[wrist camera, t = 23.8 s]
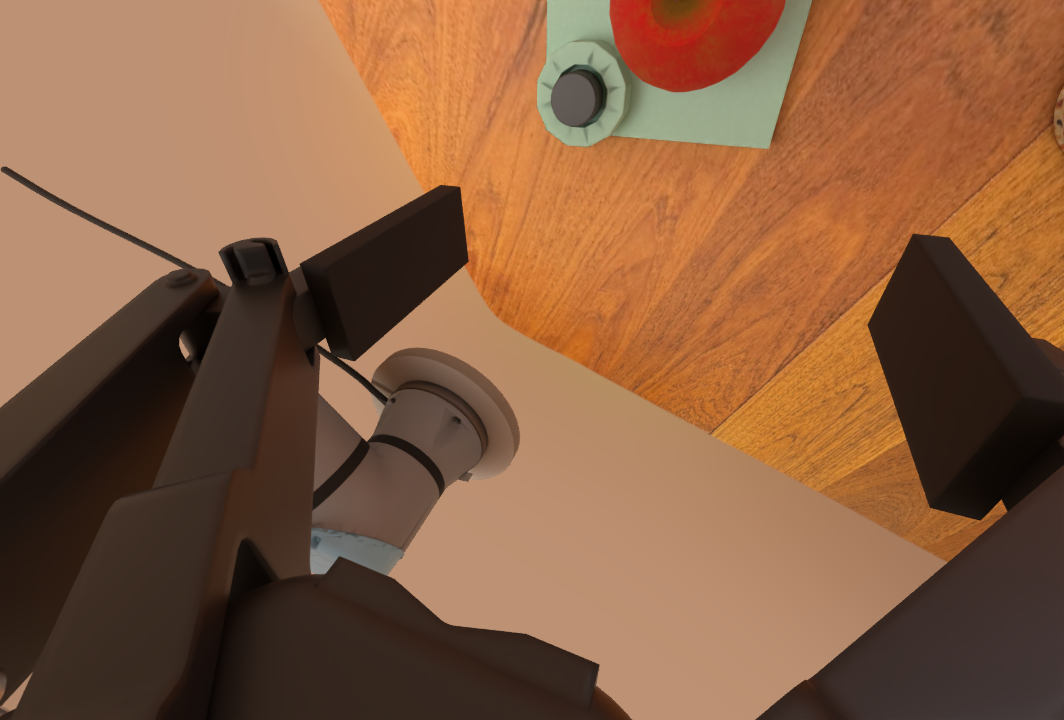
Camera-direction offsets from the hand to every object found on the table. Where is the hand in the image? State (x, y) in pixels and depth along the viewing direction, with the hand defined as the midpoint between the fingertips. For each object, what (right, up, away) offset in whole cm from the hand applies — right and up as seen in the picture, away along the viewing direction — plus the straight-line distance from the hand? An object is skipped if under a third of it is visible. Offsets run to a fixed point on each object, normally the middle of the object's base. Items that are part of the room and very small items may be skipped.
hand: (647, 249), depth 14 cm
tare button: (0, +14, +15) cm, 21 cm away
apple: (+6, +17, +12) cm, 22 cm away
